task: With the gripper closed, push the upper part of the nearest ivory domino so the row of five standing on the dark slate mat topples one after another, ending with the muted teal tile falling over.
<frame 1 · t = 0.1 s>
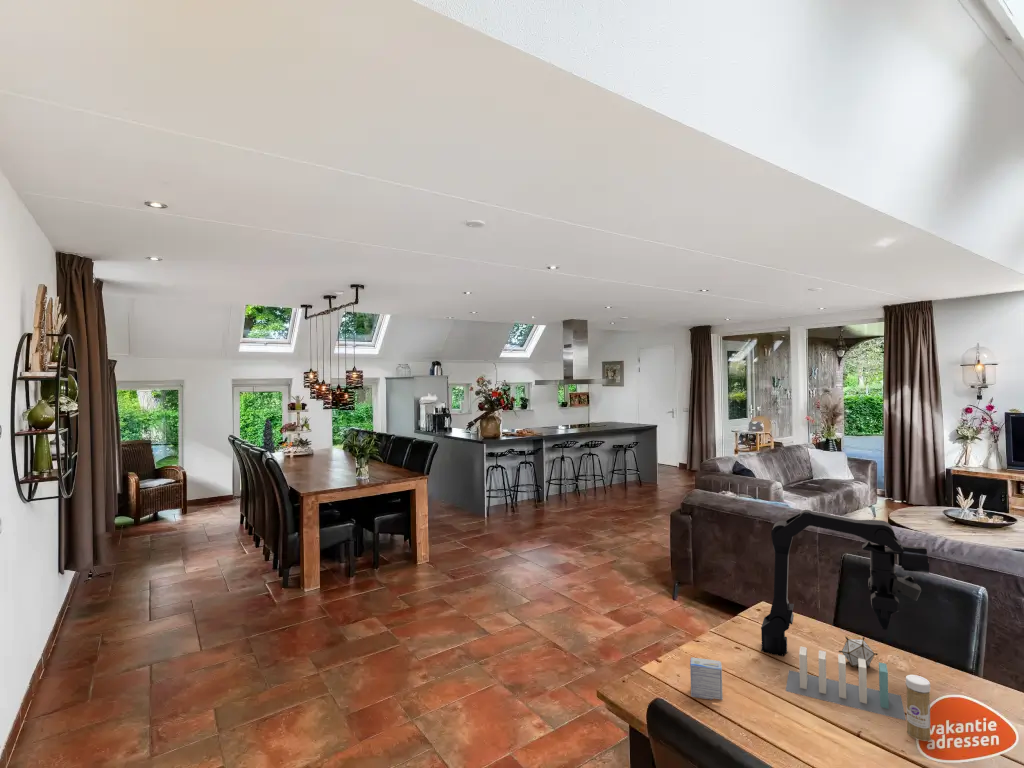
hand: (883, 623, 152), 15 cm above the table, fingers open, 9 cm apart
domino 4: (862, 697, 140), point 1 cm above the table, touching slate mat
domino 5: (884, 702, 138), point 1 cm above the table, touching slate mat
game die: (858, 667, 157), on the table
domino 3: (842, 693, 143), point 1 cm above the table, touching slate mat
domino 1: (803, 684, 147), point 1 cm above the table, touching slate mat
slate mat: (842, 695, 143), on the table
medicine box: (706, 696, 144), on the table
domino 2: (822, 688, 145), point 1 cm above the table, touching slate mat
sprinkles bottle: (919, 738, 125), on the table
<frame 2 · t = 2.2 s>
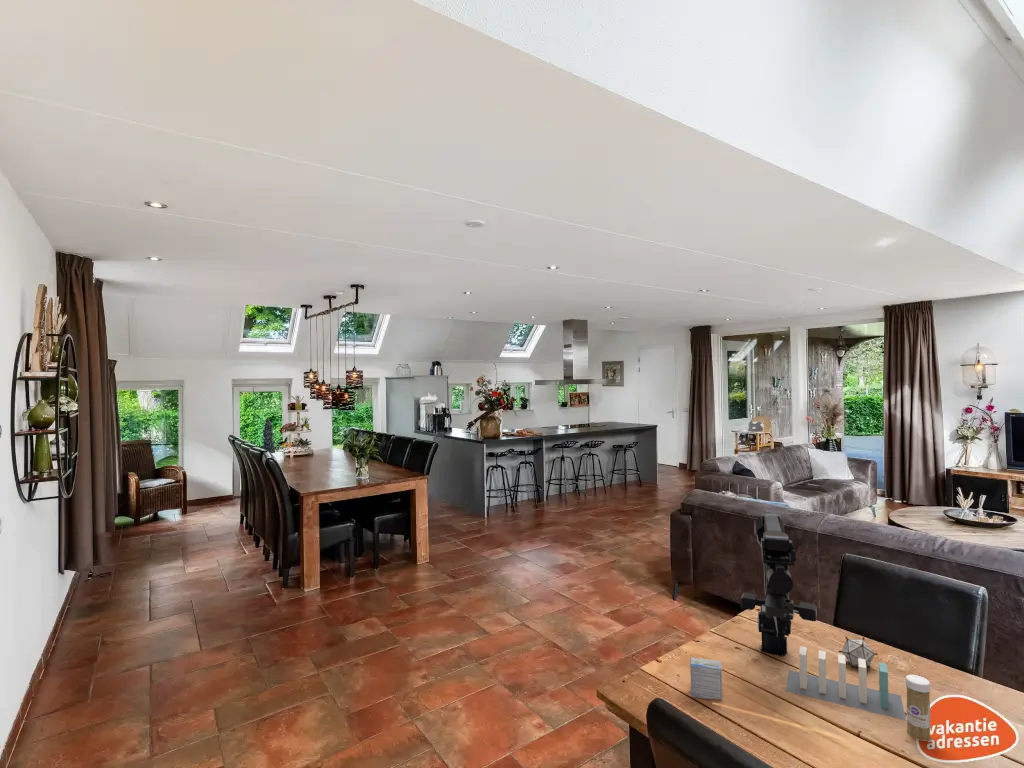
hand: (778, 637, 150), 12 cm above the table, fingers closed
nothing on the table moved.
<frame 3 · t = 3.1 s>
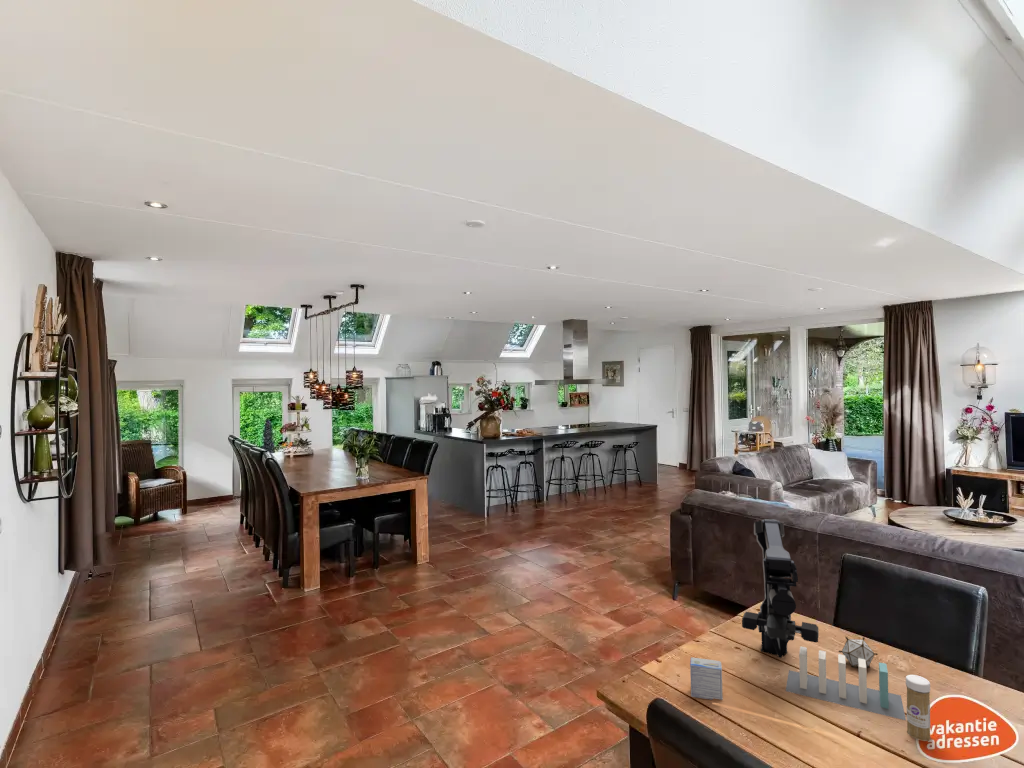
hand: (780, 657, 150), 7 cm above the table, fingers closed
nothing on the table moved.
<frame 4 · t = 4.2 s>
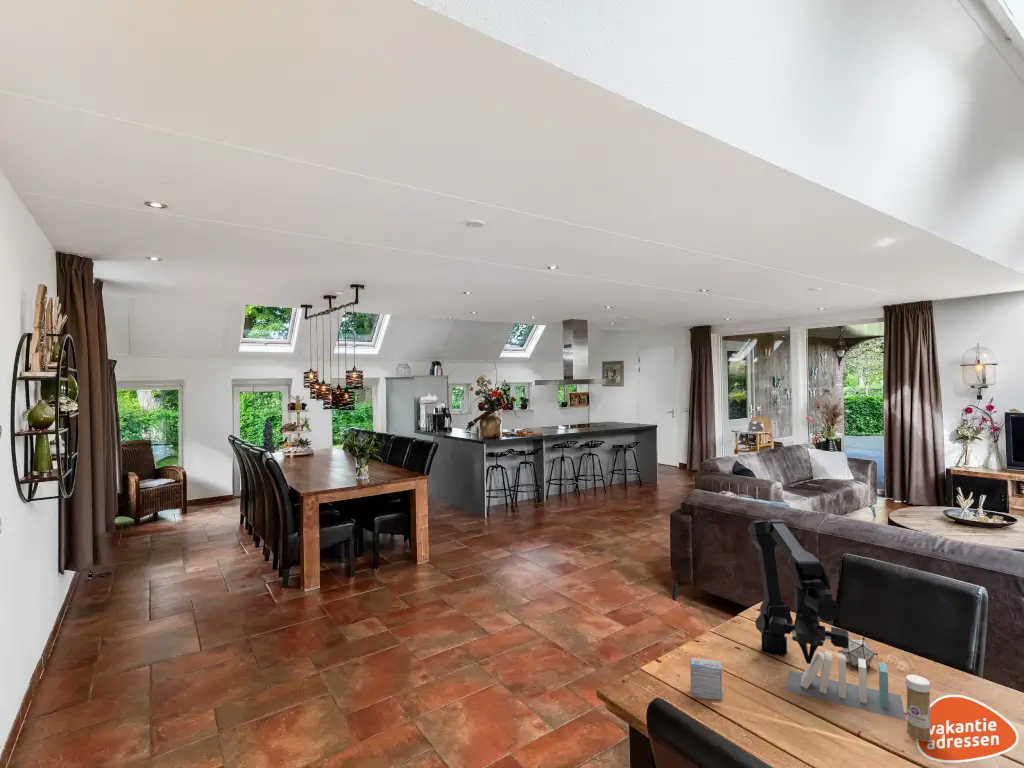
hand: (808, 663, 146), 7 cm above the table, fingers closed
domino 1: (804, 682, 147), point 1 cm above the table, tilted 27°, touching slate mat
domino 2: (822, 688, 145), point 1 cm above the table, tilted 9°, touching slate mat
everything else where it was.
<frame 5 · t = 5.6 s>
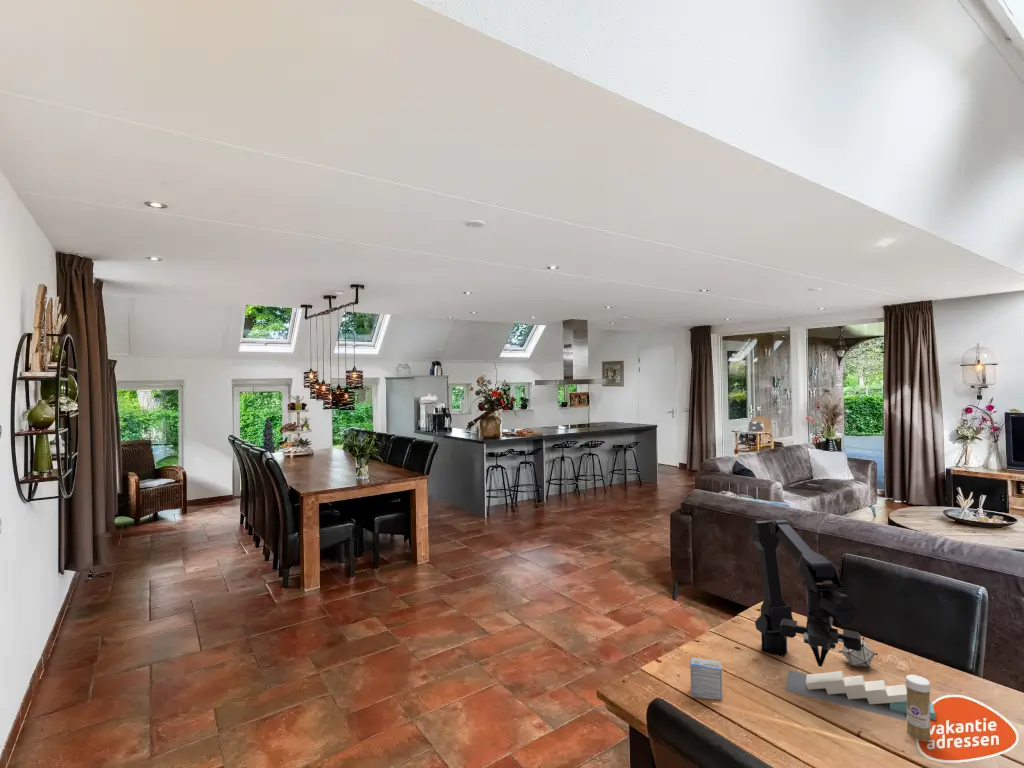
hand: (820, 665, 145), 6 cm above the table, fingers closed
domino 4: (867, 696, 140), point 1 cm above the table, tilted 69°, touching domino 3, domino 5, slate mat
domino 5: (889, 700, 137), point 1 cm above the table, tilted 90°, touching domino 4, slate mat
domino 3: (847, 691, 142), point 1 cm above the table, tilted 69°, touching domino 2, domino 4
domino 1: (807, 682, 147), point 1 cm above the table, tilted 69°, touching domino 2, slate mat
domino 2: (826, 686, 144), point 1 cm above the table, tilted 69°, touching domino 1, domino 3, slate mat
everything else where it was.
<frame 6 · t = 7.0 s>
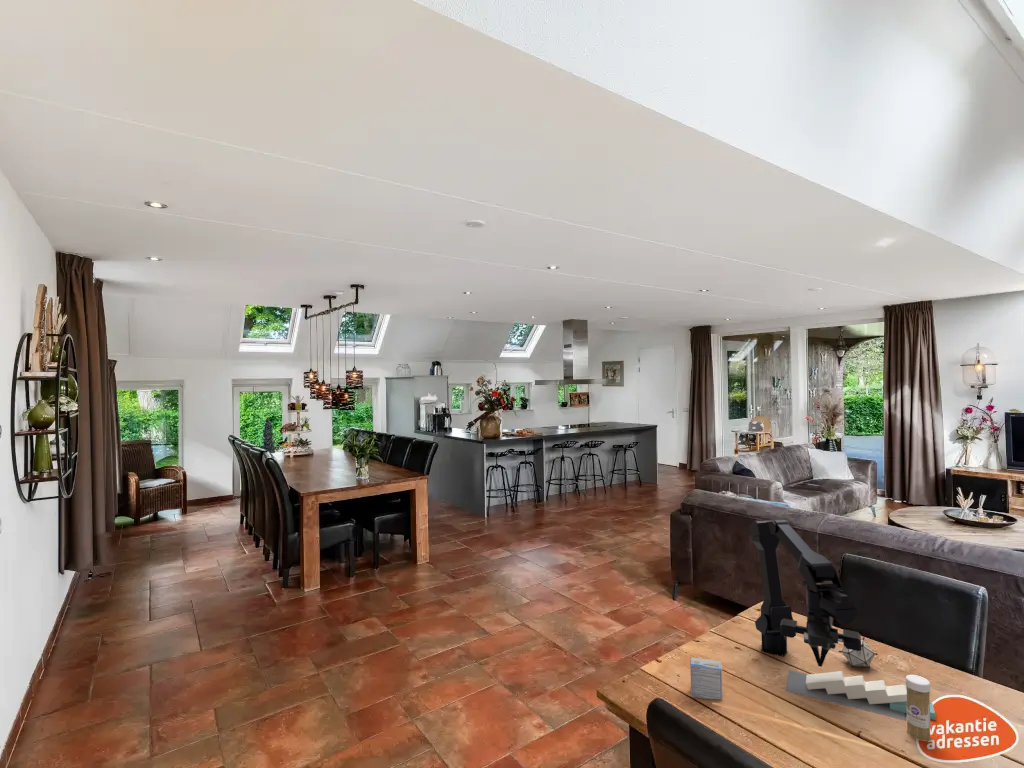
hand: (820, 665, 145), 6 cm above the table, fingers closed
nothing on the table moved.
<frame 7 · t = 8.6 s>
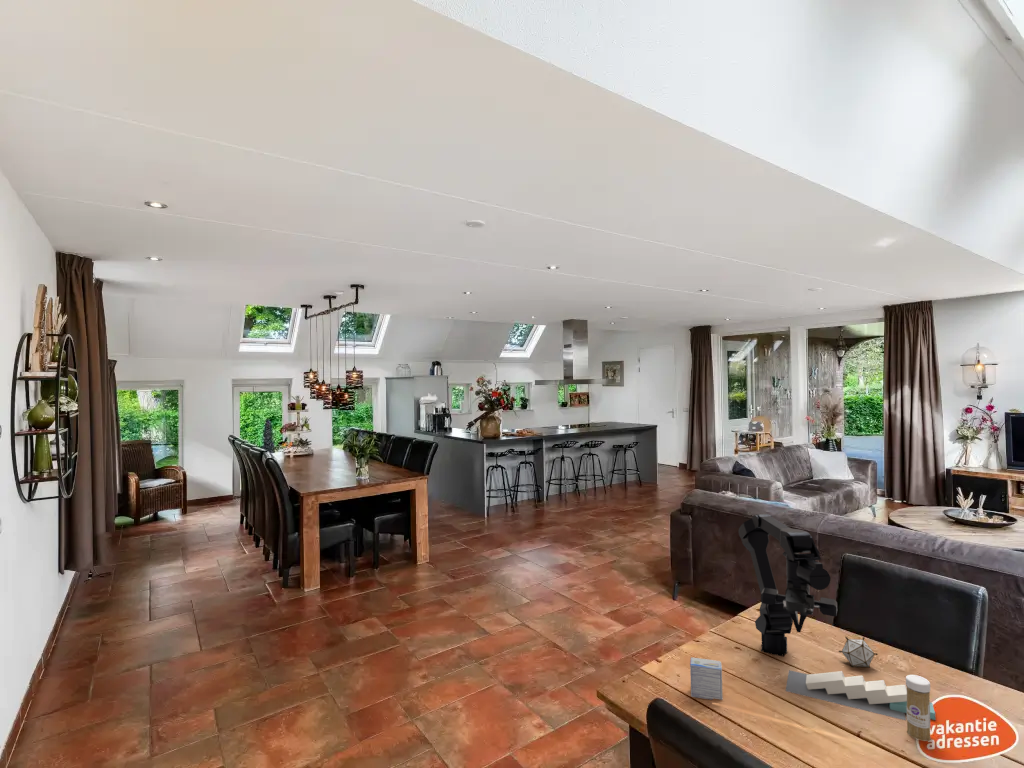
hand: (798, 631, 153), 12 cm above the table, fingers closed
nothing on the table moved.
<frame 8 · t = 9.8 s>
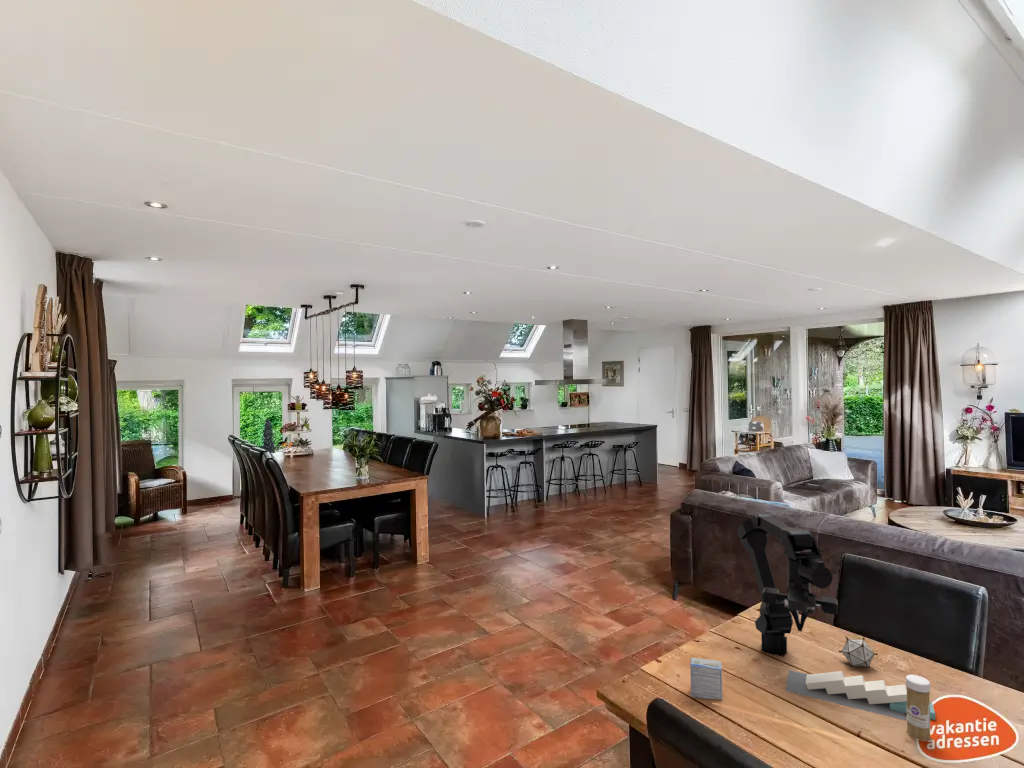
hand: (799, 630, 153), 12 cm above the table, fingers closed
nothing on the table moved.
at the end: domino 5 tilted 90°; domino 1 tilted 69° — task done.
